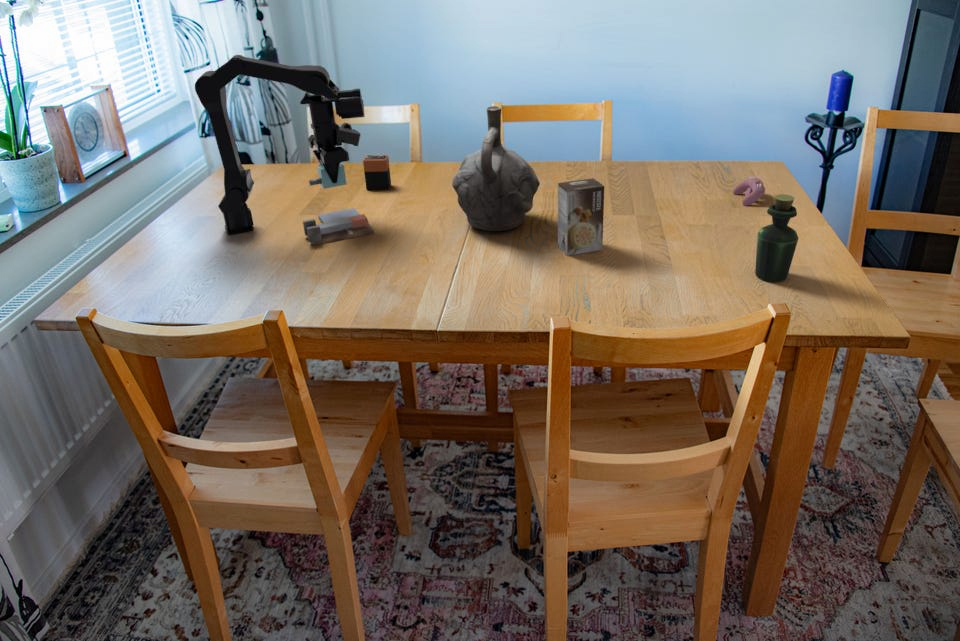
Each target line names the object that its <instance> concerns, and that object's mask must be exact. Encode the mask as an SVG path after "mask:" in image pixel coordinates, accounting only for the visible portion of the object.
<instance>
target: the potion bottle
mask: <svg viewBox="0 0 960 641" xmlns="http://www.w3.org/2000/svg"><path fill="white" fill-rule="evenodd" d="M794 201H795V196H793V195H790V194H786V193H785V194H783V193H780V194H776V195H774V203H773V204H770V205H769V207H768V209H767V211H766V212H767V214H768V215H769V216H770V217H771V221H772V223H770V224H767V225H765V226H762V227H761V229H760V230H758V232H757V239H756V256H755V268H754V269H755V271H754V273H755V276H756V277H757V278H758V279H760V280H761V281H764V282H769V283H780V282H783V281H785V280H787V278H788V276H789V273H790V269H791V266H792V261H793V259H794V254H795V252H796V249H797V245H798V241H799V235H798V233H797V231H796V230H795V229H794V228H792V227H790V226H789V222H790V221H791V219H793V218H795V217H797V215H798V212H797V208H796V207H795V206H794V205H793V203H794Z"/></svg>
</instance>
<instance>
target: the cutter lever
mask: <svg viewBox="0 0 960 641" xmlns="http://www.w3.org/2000/svg"><path fill="white" fill-rule="evenodd" d="M368 223H369V221H368V217H367V216H366V215H365V214H364V213H363V214H360V215H357V216H352V217H349V218H346V219H342V220H337V221H332V222H327V223H323V224H322V223H319V224H318V223H317V224H316V225H313V226H317V225H319V226H320V231H321V234H325V233H329V232H334V231H339V230H343V229H348V228H352V227H353V228H356V227H360V226H365V225H368ZM311 227H312V226H311Z"/></svg>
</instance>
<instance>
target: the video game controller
mask: <svg viewBox="0 0 960 641" xmlns="http://www.w3.org/2000/svg"><path fill="white" fill-rule="evenodd" d="M765 192H766V187H765V186H764V182H763V181H762V180H761V179H760V178H758V177H754V176H753V177H752V176H749V177H747V178H745V179H744V180H743V181H742V182H740V183H739V184H738V185H736V186H735V187H734V188H733V190H732V193H733V195H738V196H739V195H741V194H743V193H744V196H745V197H744V198H742V202H741V204H742V206H745V207H747V206H750V205H752V204H755V203H756V202H757V201H758V200H759V199H761V198H762V197H764V195H765Z"/></svg>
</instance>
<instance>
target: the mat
mask: <svg viewBox="0 0 960 641" xmlns="http://www.w3.org/2000/svg"><path fill="white" fill-rule="evenodd" d="M357 215H361V214H360V213H359V212H358V211H357V210H356V208H355V207H353V208H346V209H342V210H336V211H331V212H325V213H319V214H317V216H318V220H319V221H320V222H321V224H323V223H327V222H332V221H337V220H342V219H346V218H349V217H352V216H357Z"/></svg>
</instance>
